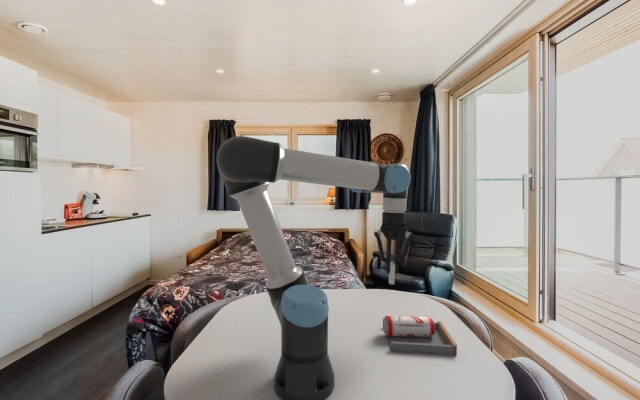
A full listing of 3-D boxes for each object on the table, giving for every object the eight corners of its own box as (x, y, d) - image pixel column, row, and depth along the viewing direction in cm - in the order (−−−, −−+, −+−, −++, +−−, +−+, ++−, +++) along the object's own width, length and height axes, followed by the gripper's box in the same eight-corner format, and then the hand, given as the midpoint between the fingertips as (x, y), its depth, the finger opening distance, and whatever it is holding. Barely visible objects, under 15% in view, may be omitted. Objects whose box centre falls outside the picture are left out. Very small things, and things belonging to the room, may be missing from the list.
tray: (456, 355, 86) (456, 345, 86) (391, 350, 88) (391, 341, 88) (440, 329, 102) (440, 321, 102) (385, 326, 104) (385, 318, 104)
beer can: (382, 332, 99) (429, 333, 99) (386, 338, 93) (436, 339, 93) (382, 313, 100) (428, 314, 100) (386, 318, 94) (435, 319, 94)
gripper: (412, 211, 98) (409, 280, 98) (373, 210, 99) (370, 278, 100) (417, 213, 90) (414, 288, 91) (374, 211, 92) (372, 285, 92)
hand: (391, 282), depth 95 cm, fingers closed
